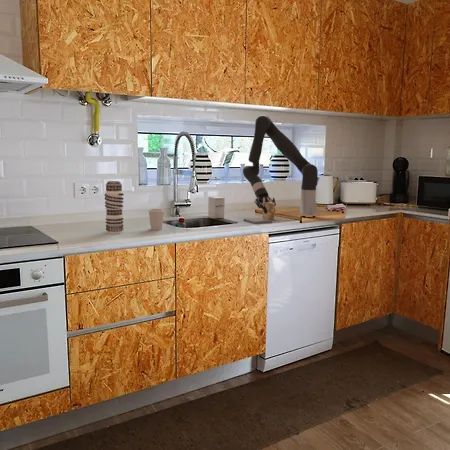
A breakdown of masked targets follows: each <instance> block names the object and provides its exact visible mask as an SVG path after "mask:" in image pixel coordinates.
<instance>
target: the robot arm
mask: <svg viewBox="0 0 450 450" xmlns="http://www.w3.org/2000/svg"><path fill="white" fill-rule="evenodd" d="M254 123H255V125H254V134H253V139H252V143H251V147H250V150H249V154H248V162H250V163H252V165H245V166H244V167H243V168H242V174H243V176H244V178H245V179H246V180H247V181H248V182H249V184H250V185H251V188H252V191H253V192H254V196H255V197H256V198H255V200H254V201H253V202H254V203H255V205H256V206H257V207H258V209H262V212H263V211H264V213H265V214H266V213H267V209H266V207H265V205H264V203H265V202H272V203H275V207H276V206H277V204H276V199H275V197H272V198H271V197H270V196H269V193H268V190H267V189H266V185H265V184H264V182H263V181H262V179H261V177H260V176H259V175H260V159H261V155H262V151H263V145H264V144H263V143H264V138H265V136H266V135H267V136H268V137H269V139H270V140H271V141H272V143H273V145H274V146H275V148H276V149H277V150H278V151H279V152H280V153H281V155H283V157H285V158H286V159H287V160H288V161H289V162H290V163H292V164H293V165H294V166H295V167H296V168H297V170H298V171H299V172H300V174H301V175H302V178H301V179H302V180H301V181H302V182H301V185H300V207H299V208H300V211H299V215H300V214H305V215H313V214H316V215H317V206H318V205H317V204H318V202H317V201H316V197H317V186H318V175H319V174H318V173H319V172H318V168H317V166H315V164H312V163H311V162H309V161H308V160H307V159H306V158H305V157H304V156H303V155H302V154H301V151H300V150H299V149H298V147H297V146H296V145H295V144H294V143H293V142H292V141H291V140H290V138H289V137H287V136H286V135H285V134H284V133H283V132H282V131H281V130H280V129H278V127H277V126H276V125H275V123H274V122H273V121H272V120H271V118H270V117H269V116H268V115H266V114H260V115H258V116H257V118H256V119H255V121H254ZM275 213H276V209H275V208H274V214H275Z"/></svg>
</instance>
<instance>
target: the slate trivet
mask: <svg viewBox="0 0 450 450" xmlns="http://www.w3.org/2000/svg"><path fill="white" fill-rule="evenodd" d="M243 222H247V223H250V224H255V225H256V224H258V225H259V224H271V223H273V219H272V220H268V219H264V218H263V217H252V218H251V217H250V218H243Z"/></svg>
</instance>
